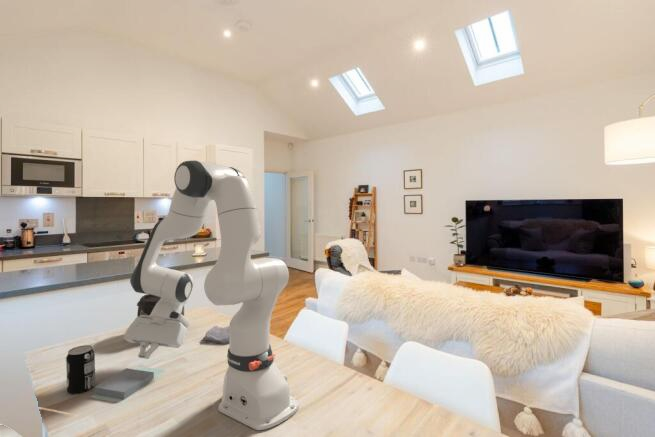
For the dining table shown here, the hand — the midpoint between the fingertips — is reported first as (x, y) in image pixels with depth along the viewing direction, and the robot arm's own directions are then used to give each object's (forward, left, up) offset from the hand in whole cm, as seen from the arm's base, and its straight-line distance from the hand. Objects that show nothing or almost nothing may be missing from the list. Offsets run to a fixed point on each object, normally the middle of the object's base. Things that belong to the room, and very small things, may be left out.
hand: (142, 357), depth 103 cm
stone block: (+9, -32, -6) cm, 34 cm away
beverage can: (+5, +15, -6) cm, 17 cm away
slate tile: (-1, +1, -4) cm, 5 cm away
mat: (-2, +4, -6) cm, 7 cm away
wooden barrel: (+32, -17, -6) cm, 36 cm away
